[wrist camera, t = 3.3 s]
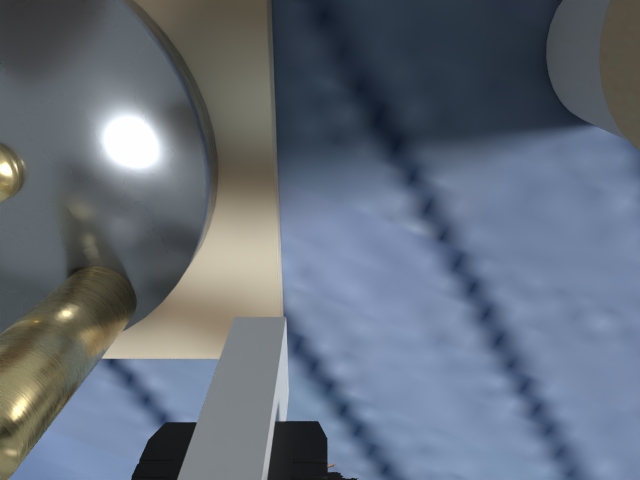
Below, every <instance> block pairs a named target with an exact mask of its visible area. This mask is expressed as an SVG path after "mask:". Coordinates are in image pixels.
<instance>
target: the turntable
mask: <svg viewBox="0 0 640 480" xmlns="http://www.w3.org/2000/svg"><path fill="white" fill-rule="evenodd" d="M217 190H218V155H217V149H216V142H215V136H214V131H213V127H212V124H211V120H210V117H209V113H208V109H207V106H206V104H205V101H204V99H203V97H202V94H201V92H200V89H199V87H198V85H197V82H196V80H195V78H194V77H193V75H192V73H191V71H190V70H189V68H188V66H187V64H186V62H185V61H184V59H183V57H182V55H181V54H180V53H179V51H178V50H177V49H176V47H175V46H174V44H173V43H172V42H171V40H170V39H169V37H168V36H167V35H166V33H165V32H164V31H163V30H162V29H161V28H160V26H159V25H158V24H157V23H156V22H155V21H154V20H153V19H152V18H151V17H150V16H149V14H148V13H147V12H146V11H145V10H144V9H143V8H142V7H141V6H140V5H138V4H137V3H136V2H135V1H134V0H0V480H8V479H9V478H10V477H11V476H12V474H13V473H14V472H15V471H16V469H17V468H18V467H19V465H20V464H21V463H22V461H23V460H24V459H25V457H26V456H27V455H28V454H29V452H30V451H31V450H32V448H33V447H34V446H35V444H36V443H37V442H38V440H39V439H40V438H41V437H42V435H43V434H44V433H45V431H46V430H47V429H48V427H49V426H50V425H51V423H52V422H53V421H54V420H55V418H56V417H57V416H58V414H59V413H60V412H61V410H62V409H63V408H64V406H65V405H66V404H67V403H68V401H69V400H70V399H71V397H72V396H73V395H74V393H75V392H76V391H77V389H78V388H79V387H80V386H81V384H82V383H83V382H84V380H85V379H86V378H87V376H88V375H89V374H90V372H91V371H92V370H93V369H94V367H95V366H96V365H97V363H98V362H99V361H100V359H101V358H102V357H103V355H104V354H105V353H106V351H107V350H108V349H109V348H110V346H111V345H112V344H113V342H114V341H115V340H116V338H117V337H118V336H119V334H120V333H121V332H122V331H125V330H127V329H128V328H130V327H131V326H133V325H135V324H136V323H138V322H139V321H141V320H142V319H144V318H145V317H147V316H148V315H149V314H150V313H151V312H152V311H153V310H154V309H156V308H157V307H158V306H159V305H160V304H161V303H162V302H163V301H164V300H165V299H166V297H167V296H168V295H169V294H170V293H171V291H172V290H173V289H174V288H175V287H176V285H177V284H178V282H179V281H180V279H181V278H182V276H183V275H184V274H185V272H186V271H187V269H188V268H189V266H190V265H191V263H192V261H193V260H194V258H195V257H196V255H197V253H198V252H199V250H200V248H201V247H202V245H203V242H204V240H205V238H206V235H207V233H208V230H209V228H210V225H211V221H212V217H213V214H214V210H215V206H216V198H217Z"/></svg>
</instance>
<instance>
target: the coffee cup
mask: <svg viewBox="0 0 640 480" xmlns="http://www.w3.org/2000/svg"><path fill="white" fill-rule="evenodd" d="M546 61H547V67H548V74H549V77H550V80H551V83H552V86H553V89H554V91H555V93H556V94H557V96H558V98H559V99H560V101H561V103H562V104H563V105H564V106H565V107H566V108H567V109H568V110H569V111H570V112H571V113H573V114H574V115H576V116H578V117H579V118H581V119H582V120H584V121H586V122H589V123H591V124H593V125H595V126H597V127H599V128H602V129H604V130H606V131H608V132H610V133H612V134H615V135H617V136H619V137H621V138H623V139H625V140H628V141H630V142H631V144H632V145H633V146H634V147H636V148H637V149H639V150H640V0H562V2H561V3H560V5H559V6H558V8H557V9H556V12H555V14H554V17H553V19H552V22H551V24H550V28H549V33H548V38H547V47H546Z"/></svg>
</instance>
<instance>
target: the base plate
mask: <svg viewBox="0 0 640 480" xmlns="http://www.w3.org/2000/svg"><path fill="white" fill-rule="evenodd" d="M134 1H135V2H136V3H137V4H138V5H140V6H141V7H142V8H143V9H144V10H145V11H146V12H147V13H148V14H149V16H150V17H151V18H152V19H153V20H154V21H155V22H156V23H157V24H158V25H159V26H160V28H161V29H162V30H163V31H164V32H165V33H166V35H167V36H168V37H169V39H170V40H171V42H172V43H173V44H174V46H175V47H176V49H177V50H178V51H179V53H180V54H181V55H182V57H183V59H184V61H185V62H186V64H187V66H188V68H189V70H190V71H191V73H192V75H193V77H194V78H195V80H196V82H197V85H198V87H199V89H200V92H201V94H202V97H203V99H204V101H205V104H206V106H207V109H208V113H209V117H210V120H211V124H212V127H213V131H214V136H215V142H216V149H217V155H218V190H217V198H216V206H215V210H214V214H213V217H212V221H211V225H210V228H209V230H208V233H207V235H206V238H205V240H204V242H203V245H202V247H201V248H200V250H199V252H198V253H197V255H196V257H195V258H194V260H193V261H192V263H191V265H190V266H189V268H188V269H187V271H186V272H185V274H184V275H183V276H182V278H181V279H180V281H179V282H178V284H177V285H176V287H175V288H174V289H173V290H172V291H171V293H170V294H169V295H168V296H167V297H166V299H165V300H164V301H163V302H162V303H161V304H160V305H159V306H158V307H157V308H156V309H154V310H153V311H152V312H151V313H150V314H149V315H148V316H147V317H145V318H144V319H142V320H141V321H139V322H138V323H136V324H135V325H133V326H131V327H130V328H128V329H127V330H125V331H122V332H121V333H120V334H119V336H118V337H117V338H116V340H115V341H114V342H113V344H112V345H111V346H110V348H109V349H108V350H107V351H106V353H105V354H104V355H103V357H102V358H120V359H220V356H221V353H222V350H223V347H224V344H225V342H226V339H227V336H228V333H229V330H230V327H231V324H232V322H233V319H234V317H284V315H283V290H282V264H281V238H280V212H279V187H278V161H277V135H276V109H275V84H274V58H273V32H272V6H271V0H134Z"/></svg>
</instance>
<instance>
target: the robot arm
mask: <svg viewBox="0 0 640 480" xmlns="http://www.w3.org/2000/svg"><path fill="white" fill-rule="evenodd" d="M288 398H289V383H288V356H287V330H286V317H234V319H233V322H232V324H231V327H230V330H229V333H228V336H227V339H226V342H225V344H224V347H223V350H222V353H221V356H220V359H219V362H218V364H217V367H216V370H215V373H214V376H213V379H212V382H211V384H210V387H209V390H208V393H207V396H206V399H205V402H204V404H203V407H202V410H201V413H200V416H199V419H198V422H166V423H165V424H164V425H163V426H162V427H161V428H160V429H159V430H158V431H157V432H156V433H155V434H154V435H153V436H152V437H151V438H150V439H149V440H148V442H147V445H146V447H145V449H144V451H143V453H142V455H141V458H140V460H139V464H137V466H136V469H135V471H134V473H133V475H132V479H131V480H328V464H327V437H326V435H325V433H324V431H323V430H322V428H321V426H320V424H319V422H318V421H286V416H287V407H288Z"/></svg>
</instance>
